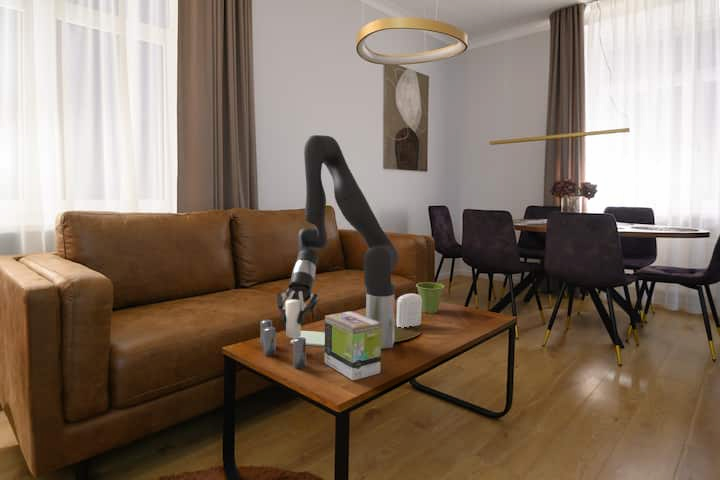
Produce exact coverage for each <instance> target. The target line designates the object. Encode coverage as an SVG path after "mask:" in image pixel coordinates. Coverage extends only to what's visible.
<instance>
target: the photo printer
mask: <svg viewBox="0 0 720 480" xmlns="http://www.w3.org/2000/svg"><path fill="white" fill-rule="evenodd" d="M421 310H422V298H421V296H420V295H419V293H418V294H417V293H406V294H405V293H404V294H403V295H400V296H399V297H398V298H397V300H396V317H395V321H396V323H395V326H396V327H397V328H398V327H401V328H400V329H405V328H404V327H407V328H410V327H409V326H412V327H418V326H420V325H422V311H421Z"/></svg>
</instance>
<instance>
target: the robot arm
mask: <svg viewBox="0 0 720 480" xmlns="http://www.w3.org/2000/svg"><path fill="white" fill-rule="evenodd" d="M303 155H304V169H305V170H304V171H305V186H306V187H305V188H306V191H305V192H306V196H305V206H304V207H305V209H304V221H305V222H306V223H309V224H311V225H314V226H315V227H316V228H309V227H304V228H302V229H300V230H299V232H298V235H297V244H298V245H297V246H298V250H297V251H298V253H297V257H296V261H295V264H294V267H293V269H292V272H291V276H290V279H289V284H288V288H287V290H286V291H285V292H281V291H278V292H277V294H276V296H277V297H276V299H277V300H276V301H277V302H276V303H277V309H278V310H279V312H281V316H280V319H279V320H280V321H281V323H282V324H283V325H286V305H285V304H284V301H287V300H292V299H296V300H300V312H299V316H298V320H297V323H298V325H302V324H303V323H304V321H305V316H306V314H308V313H309V314H311V313H313V311H314V309H315V307H316V306H317V303H318V302H319V299H320V298H319V295H318V293H312V288H313V285H314V280H315V277H316V269H317V264H318V261H319V253H318V251H316V250H323V249H325V248H326V247H327V245H328V233H327V227H326V221H325V220H326V218H325V217H326V208H327V198H326V197H327V196H326V193H325V188H324V186H323V180H322V167H323V165H325V167H326V169H327V170H328V171H329V174H330V175H331V177H332V181H333V182H332V183H333V190H334V191H333V193H334V199H335V202H336V204H337V206H338V207H339V210H340V211H341V214H342V215H343V217H344V219H345V220H346V221H347V222H348V224H349V225H351V227H353V229H355V230H356V232H358V234H359V235H360V236H361V237H362V238H363V240H364V242H365V244H366V246H367V247H368V249H367V250H366V251H365V254H364V256H363V257H364V258H363V281H364V282H363V283H364V285H365V290H366V291H365V293H366V294H365V296H366V297H365V298H366V299H365V300H366V301H365V303H366V304H365V305H366V306H365V312H366V313H365V316H366V317H368V318H371V319H373V320H376V321H379V322H381V350H383V349H393V347H394V344H395V326H396V323H395V321H396V315H395V294H396V293H395V292H396V289H395V284H393V283H392V274H391V273H392V270H394V269H395V268H396V267H397V265H398V264H399V263H398V262H399V254H398V252H397V249H396V248H395V245H393V243H392V242H391V240H390V238H389V237H388V236H387V234H386V233H385V231H384V230H383V228H382V227H381V225H380V223H379V221H378V219H377V217H376V216H375V214H374V212H373V209H372V208H371V206H370V204H369V202H368V200H367V199H366V196H365V195H364V193H363V191H362V190H361V188H360V187H359V185H358V184H359V183H357V180H356V179H355V177H354V176H353V173H352V171H351V169H350V167H349V166H348V164H347V163H348V162H347V161H346V158H345V157H344V154H343V151H342V150H341V147H340V145H339V143H338V141H337V140H336V139H335V138H334V137H333V136H329V135H322V134H321V135H318V134H317V135H316V134H314V135H310V136H309V137H308V138H307V139H306V140H305V143H304V147H303ZM285 298H286V300H285ZM309 299H310V300H309ZM308 301H309V302H308ZM306 302H308V303H306Z"/></svg>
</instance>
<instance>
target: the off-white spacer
mask: <svg viewBox="0 0 720 480" xmlns="http://www.w3.org/2000/svg"><path fill="white" fill-rule="evenodd" d="M286 300H287V299H286ZM286 300H284V301H285V303H284V305H286V324H285V331H286V332H285V333H286V335H285V336H286V337H287V338H290V339H293V338H296V337H299V336H301V331H302V326H301V325H302V324H301V325H298V323H297V320H298V316H299V312H300V311H301V308H300V300H296V299H292V300H287V301H286Z"/></svg>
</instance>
